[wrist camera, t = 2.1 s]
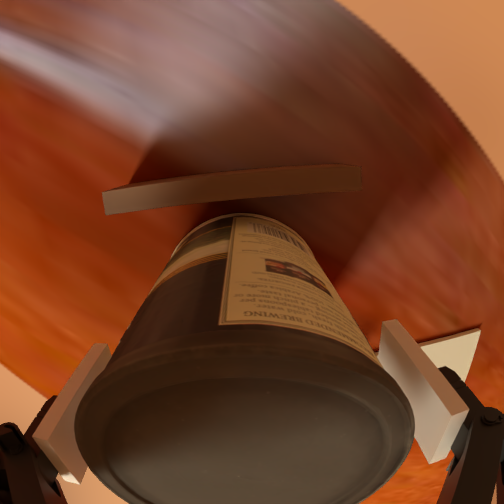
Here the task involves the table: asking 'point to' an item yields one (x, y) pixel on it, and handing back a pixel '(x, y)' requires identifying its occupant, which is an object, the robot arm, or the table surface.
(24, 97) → the table surface
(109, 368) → the coffee can
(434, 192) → the table surface
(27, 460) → the robot arm
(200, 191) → the wooden bars
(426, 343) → the mat
